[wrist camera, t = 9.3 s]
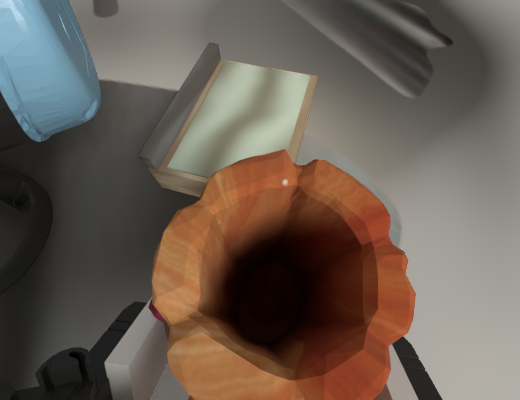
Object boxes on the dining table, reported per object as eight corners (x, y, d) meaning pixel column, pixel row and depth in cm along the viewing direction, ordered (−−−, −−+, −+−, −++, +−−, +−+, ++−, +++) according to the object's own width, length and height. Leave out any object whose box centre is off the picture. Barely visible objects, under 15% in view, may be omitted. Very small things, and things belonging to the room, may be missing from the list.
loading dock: (162, 187, 28) (137, 155, 23) (217, 84, 36) (209, 42, 30) (280, 218, 26) (284, 191, 21) (312, 102, 34) (321, 60, 28)
